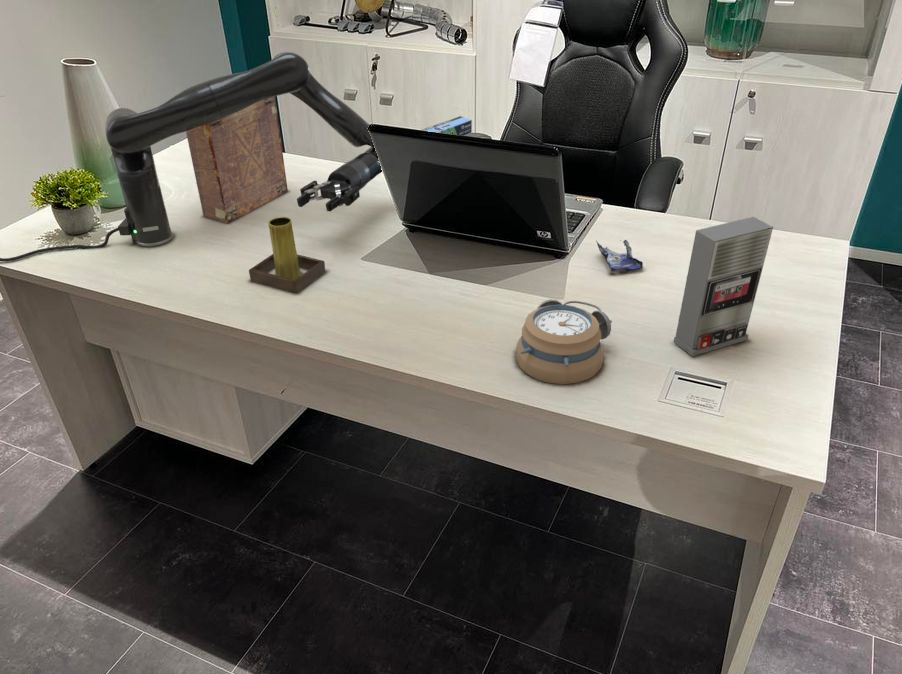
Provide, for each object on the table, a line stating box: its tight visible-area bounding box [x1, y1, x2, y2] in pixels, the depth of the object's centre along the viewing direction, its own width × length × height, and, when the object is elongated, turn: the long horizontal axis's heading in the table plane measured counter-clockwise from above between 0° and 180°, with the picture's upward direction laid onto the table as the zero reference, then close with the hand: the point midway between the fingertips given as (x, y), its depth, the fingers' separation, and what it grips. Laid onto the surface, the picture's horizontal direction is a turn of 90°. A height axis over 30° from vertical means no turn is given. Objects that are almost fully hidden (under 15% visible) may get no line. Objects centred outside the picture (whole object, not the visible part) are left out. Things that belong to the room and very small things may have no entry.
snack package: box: [595, 239, 644, 275], centre depth 183 cm, size 12×6×12 cm
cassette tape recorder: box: [673, 216, 774, 357], centre depth 148 cm, size 14×6×25 cm, turn 114°
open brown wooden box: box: [248, 253, 327, 294], centre depth 182 cm, size 14×12×3 cm
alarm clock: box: [515, 299, 613, 385], centre depth 152 cm, size 17×9×23 cm
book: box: [185, 96, 289, 224], centre depth 210 cm, size 25×9×30 cm, turn 149°
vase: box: [268, 216, 302, 280], centre depth 179 cm, size 6×6×14 cm
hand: (313, 205), depth 183 cm, fingers open, 8 cm apart
